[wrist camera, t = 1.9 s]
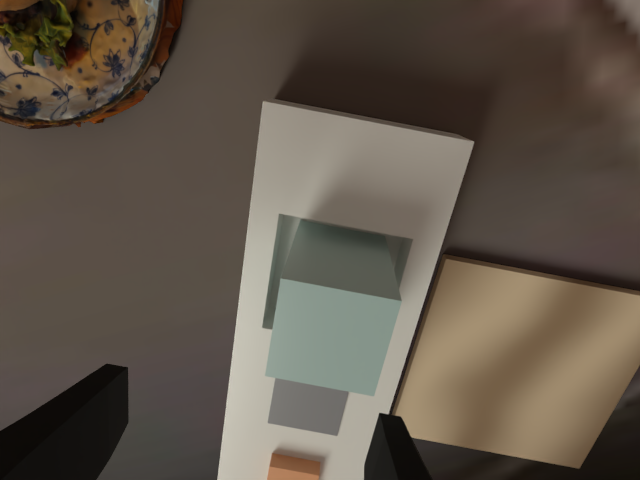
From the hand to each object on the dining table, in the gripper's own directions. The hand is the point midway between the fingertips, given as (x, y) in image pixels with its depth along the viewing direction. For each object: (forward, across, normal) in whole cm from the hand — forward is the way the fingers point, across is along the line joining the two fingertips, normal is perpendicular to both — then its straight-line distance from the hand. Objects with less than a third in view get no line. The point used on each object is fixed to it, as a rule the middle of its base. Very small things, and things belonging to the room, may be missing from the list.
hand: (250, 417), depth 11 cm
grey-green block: (+9, -2, -1) cm, 9 cm away
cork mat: (+9, -12, +3) cm, 16 cm away
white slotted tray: (+9, -2, +3) cm, 10 cm away
